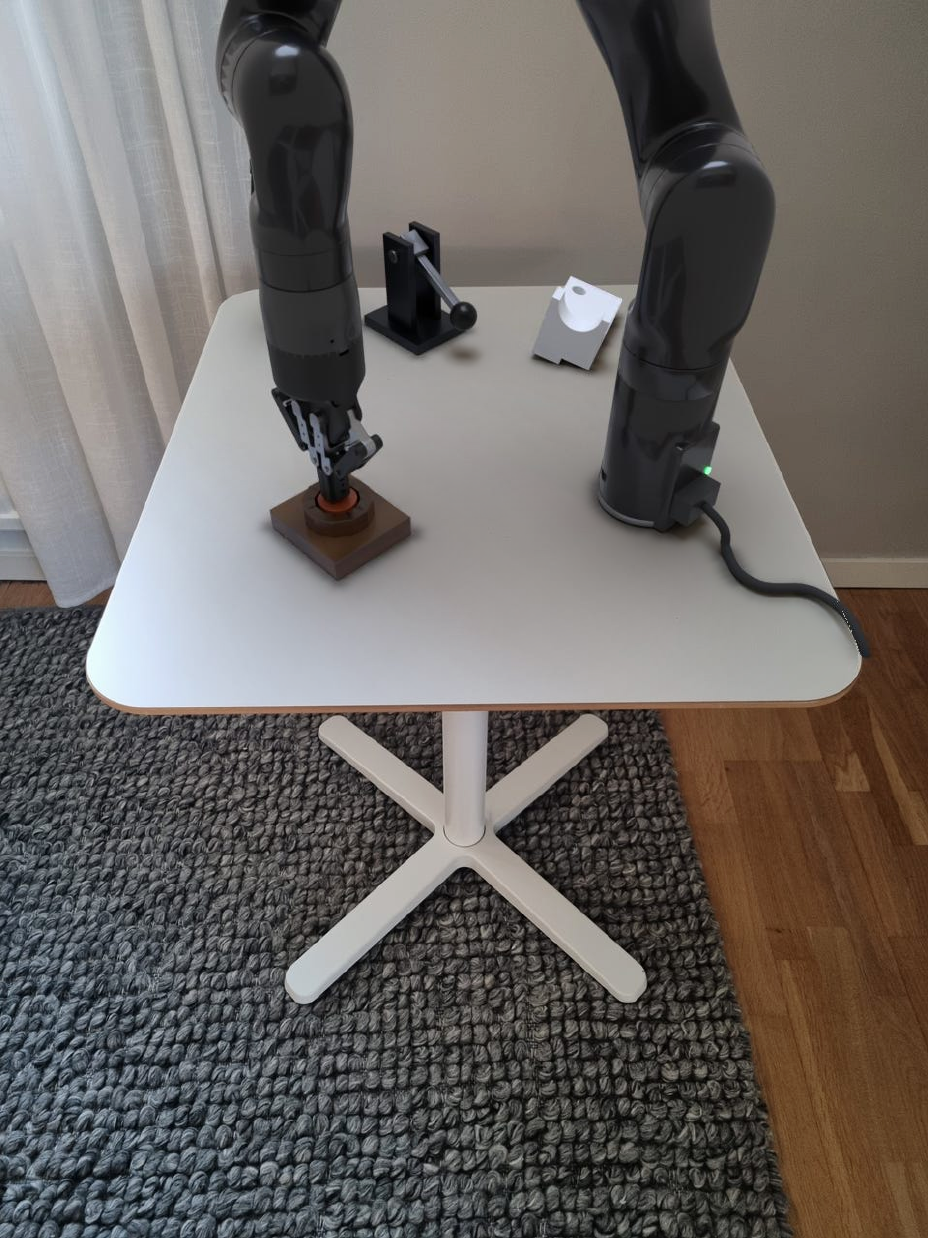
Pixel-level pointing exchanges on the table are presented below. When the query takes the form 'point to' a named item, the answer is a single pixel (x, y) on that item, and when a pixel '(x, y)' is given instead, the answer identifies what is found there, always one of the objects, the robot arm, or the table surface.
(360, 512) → the button block
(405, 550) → the table surface
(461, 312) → the ball knob lever
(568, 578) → the table surface
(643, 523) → the robot arm
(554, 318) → the bracket
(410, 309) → the lever bracket
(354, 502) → the button
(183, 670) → the table surface
